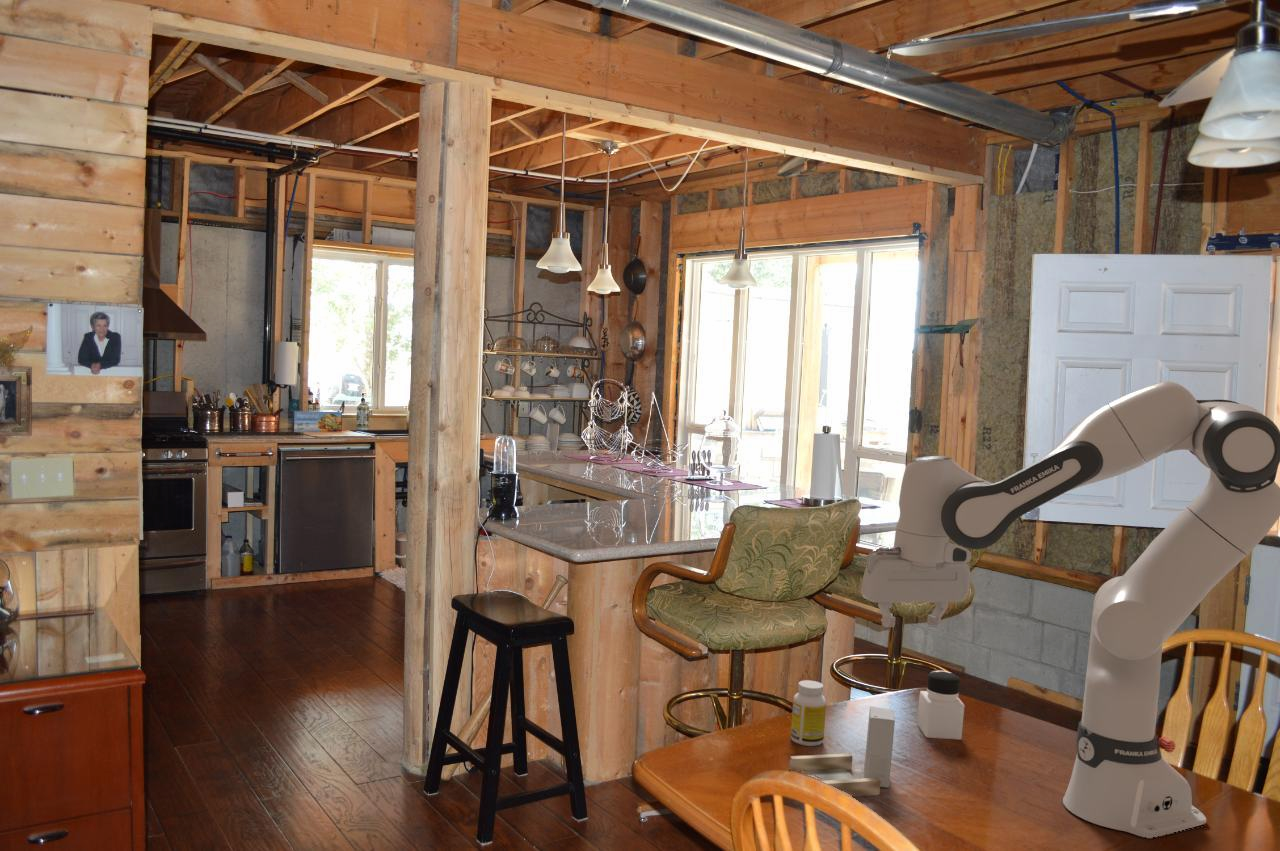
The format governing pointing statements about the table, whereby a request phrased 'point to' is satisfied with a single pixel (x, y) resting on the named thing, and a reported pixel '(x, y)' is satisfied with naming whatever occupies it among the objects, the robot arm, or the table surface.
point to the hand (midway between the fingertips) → (910, 626)
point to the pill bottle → (808, 714)
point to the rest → (835, 773)
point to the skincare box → (879, 745)
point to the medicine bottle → (941, 707)
